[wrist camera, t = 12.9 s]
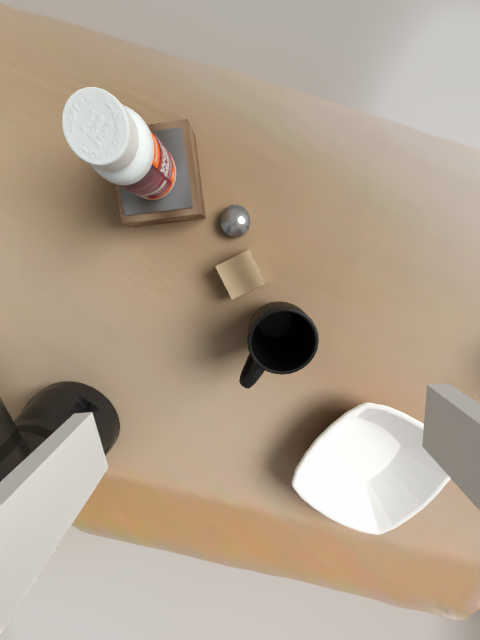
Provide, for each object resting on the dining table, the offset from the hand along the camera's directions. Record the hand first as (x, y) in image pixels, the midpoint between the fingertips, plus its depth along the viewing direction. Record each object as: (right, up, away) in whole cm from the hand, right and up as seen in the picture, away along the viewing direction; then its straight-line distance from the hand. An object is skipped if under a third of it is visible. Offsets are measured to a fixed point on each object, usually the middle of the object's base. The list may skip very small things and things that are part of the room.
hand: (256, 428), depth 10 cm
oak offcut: (-1, +11, +27) cm, 29 cm away
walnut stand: (-11, +23, +24) cm, 35 cm away
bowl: (+20, -18, +34) cm, 43 cm away
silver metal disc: (-1, +18, +25) cm, 31 cm away
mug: (+3, +3, +29) cm, 29 cm away
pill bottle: (-11, +22, +20) cm, 32 cm away
